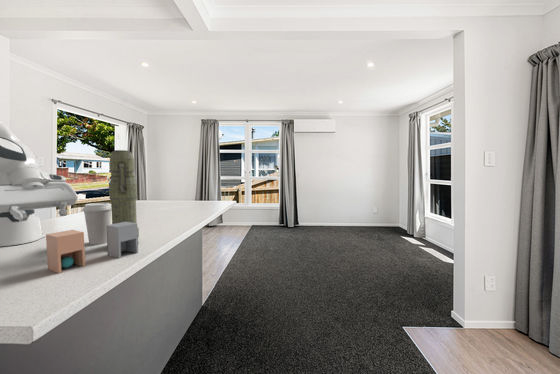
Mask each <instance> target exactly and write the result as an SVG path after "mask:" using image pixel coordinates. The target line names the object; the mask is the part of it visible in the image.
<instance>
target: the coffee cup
mask: <svg viewBox="0 0 560 374" xmlns="http://www.w3.org/2000/svg"><path fill="white" fill-rule="evenodd" d="M82 211H83V214H84V219H85V226H86V231H87V239H88V244H89V245H90V246H94V245H96V246H97V245H104V244H107V228H106V225H110V224H111V223H112V209H111V202H93V203H85V204H84V207H82Z"/></svg>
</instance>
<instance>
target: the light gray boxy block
mask: <svg viewBox="0 0 560 374" xmlns="http://www.w3.org/2000/svg"><path fill="white" fill-rule="evenodd" d="M137 227H138V222H137V223H131V222H121V223H115V224H112V223H110V225H106V228H107V243H106V246H107V256H110V257H114V258H117V259H121V258H122V253H123V252H126V251H127V252H129V253H135V254H138V253H139V243H138V242H139V237H138V231H137Z"/></svg>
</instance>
